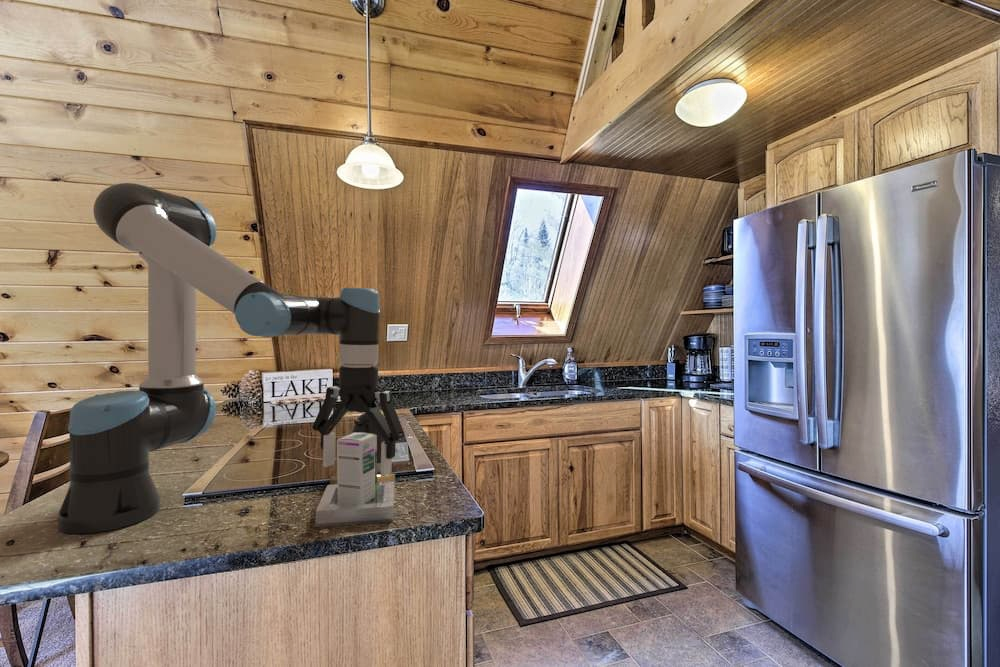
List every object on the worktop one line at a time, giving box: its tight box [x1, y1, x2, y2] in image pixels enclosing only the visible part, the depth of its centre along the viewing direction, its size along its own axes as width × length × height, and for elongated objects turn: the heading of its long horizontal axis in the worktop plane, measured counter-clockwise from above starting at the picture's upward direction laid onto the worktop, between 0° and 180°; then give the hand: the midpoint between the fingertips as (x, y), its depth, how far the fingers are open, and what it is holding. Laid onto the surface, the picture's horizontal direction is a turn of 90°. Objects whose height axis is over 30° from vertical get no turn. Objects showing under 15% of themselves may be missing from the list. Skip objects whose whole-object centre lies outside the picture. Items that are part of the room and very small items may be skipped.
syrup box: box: [336, 433, 378, 506], centre depth 96 cm, size 6×6×14 cm
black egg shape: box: [350, 412, 385, 474], centre depth 119 cm, size 10×10×15 cm
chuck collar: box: [315, 481, 395, 528], centre depth 96 cm, size 14×14×3 cm
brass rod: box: [329, 473, 396, 488], centre depth 108 cm, size 14×3×3 cm, turn 101°
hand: (356, 469), depth 96 cm, fingers open, 13 cm apart
